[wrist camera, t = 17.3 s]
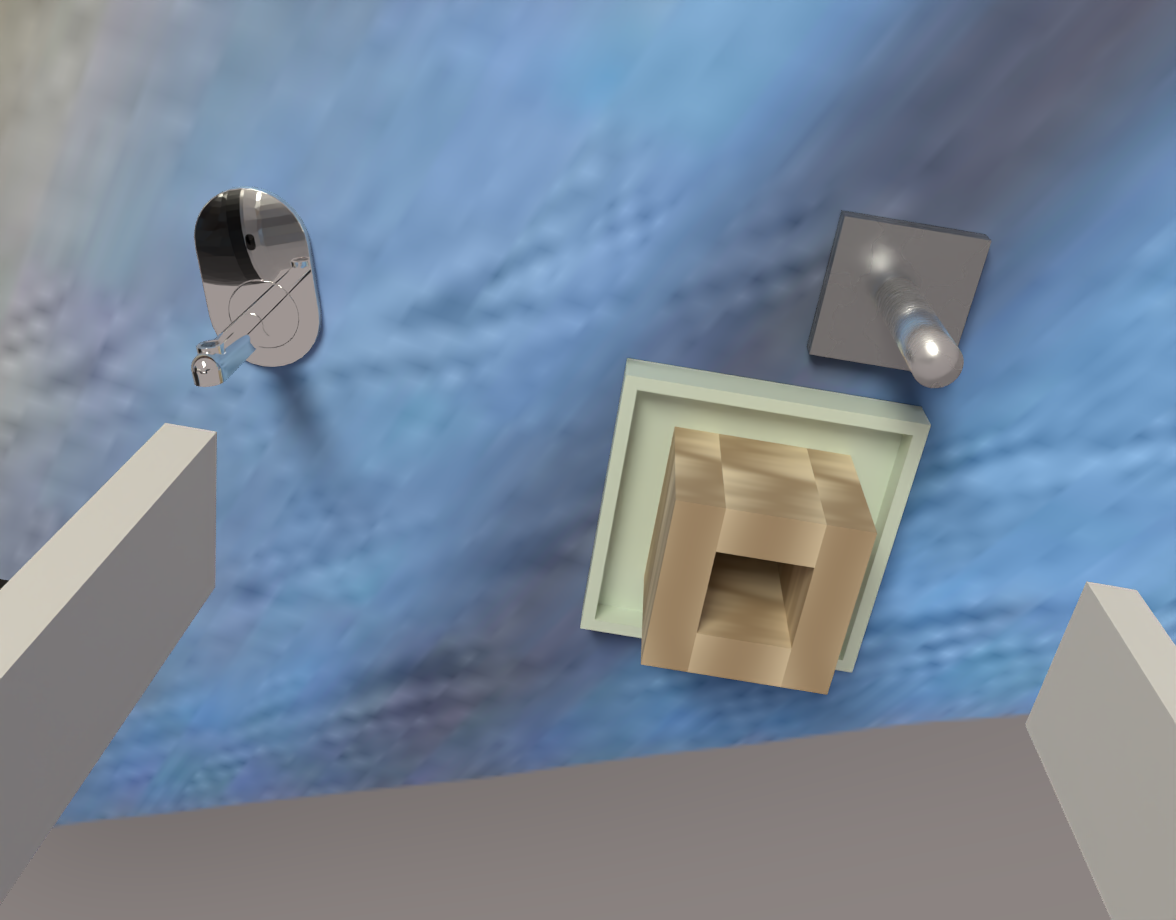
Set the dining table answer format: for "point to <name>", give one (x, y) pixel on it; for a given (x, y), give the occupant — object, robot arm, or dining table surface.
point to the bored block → (754, 561)
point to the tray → (749, 410)
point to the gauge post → (898, 296)
